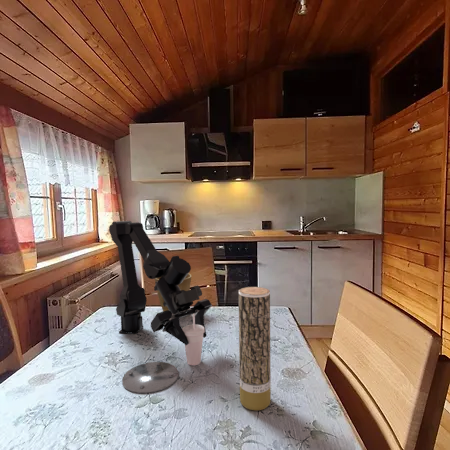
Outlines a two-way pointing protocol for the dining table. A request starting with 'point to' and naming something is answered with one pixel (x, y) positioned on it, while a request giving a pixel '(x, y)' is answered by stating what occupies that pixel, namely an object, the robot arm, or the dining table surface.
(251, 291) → the paper tube
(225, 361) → the dining table surface
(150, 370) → the flange plate
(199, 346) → the smoothie
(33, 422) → the dining table surface
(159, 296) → the plant pot
